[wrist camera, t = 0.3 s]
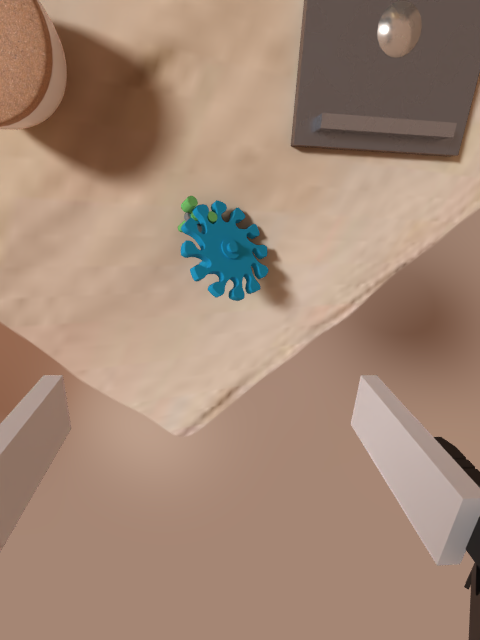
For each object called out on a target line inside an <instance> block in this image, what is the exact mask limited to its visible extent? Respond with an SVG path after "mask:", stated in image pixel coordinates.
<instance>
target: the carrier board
mask: <svg viewBox="0 0 480 640" xmlns="http://www.w3.org/2000/svg"><path fill="white" fill-rule="evenodd" d="M479 72H480V0H304V9H303V19H302V30H301V41H300V52H299V63H298V74H297V85H296V95H295V106H294V117H293V128H292V139H291V146H298V147H313V148H329V149H344V150H359V151H375V152H390V153H406V154H421V155H437V156H457V155H458V153H459V150H460V146H461V142H462V138H463V134H464V130H465V126H466V122H467V119H468V115H469V111H470V107H471V103H472V99H473V95H474V92H475V88H476V84H477V80H478V76H479Z"/></svg>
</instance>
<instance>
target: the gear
mask: <svg viewBox="0 0 480 640" xmlns="http://www.w3.org/2000/svg"><path fill="white" fill-rule="evenodd" d="M197 204H198V202H197V199H196V198H195V197H193V196H189V197H188V198H187V199H186V200H185V201H184V202H183V203H182V205H181V208H182V210H183V211H184V212H186V213H185V216H184V218H185V221H184V222H183V223H181V224H180V225H179V226H178V230H179V231H180V232H183V233H185V234H187V235H189V236H191V237H192V238H194V239H195V240H196V242H197V243H198V244H199V246H200V248H201V250H199V249H197V247H196V246H195V244H194V243H193V242H191V241H185V242H184V243H183V244H182V246H181V255H182V256H183V257H186V258H188V257H196V258H199V259H201V260H202V262H200V263H199V265H196V266H194V267H193V268H191V269H190V272H191V275H192V277H193V279H194V281H200V280H201V279H203V278H204V277H205V276H206V275H207V274H216V275H217V276H218V277H219V282H215V283H213V284H211V285H210V286H209V287H208V291H209V292H210V293H211V294H212V295H213V296H215V297H219V296H221V295H223V293H224V291H225V285H226V283H227V281H228V280H229V279H230V280H232V281H233V283H234V287H233V289H232V290H230V292H229V298H230V299H232V300H236V301H239V300H242V299H244V291H243V288H242V279H243V277H245V279H246V287H245V289H246V292H247V293H248V294H251V293H253V292H256V291H258V290H260V284H259V283H258V282H257V281H256V279H255V278H254V276H253V273H252V269H251V266H252V267H253V269H254V273H255V276H256V277H257V278H258V279H261V278H263V277H265V276H266V275H267V273H268V268H267V267H266V266H265V265H262V264H261V263H259V262H258V261H257V260H256V258H255V257H254V255H253V253H254V254H255V256H256V257H257V258H258V259H262V258H264V257H266V256H267V247H266V246H265V245H256V244H253V243H252V242H250V241H249V240H248V239H247V237H249V238H250V239H254V238H255V237H257V236H259V235H260V233H259V230H258V227H257V226H256V224H252V225H251V226H249V227H248V228H247V229H239V228H238V227H237V226H236V223H239V222H240V221H242V220H243V219H244V218H245V214H244V213H243V212H242V211H241V210H240V209H239V208H236V209H235V210H234V211H232V212H231V214H230V220H229V222H225V221H223V219H222V217H221V214H222V213H224V212H225V211H226V209H227V207H226V204H224V203H223V202H221V201H217V200H216V201H215V202H214V203H213V204H212V206H211V210H212V211H210V212H209V209H208V207H207V205H204V204H202V205H198V206H197ZM252 252H253V253H252Z"/></svg>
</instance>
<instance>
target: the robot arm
mask: <svg viewBox="0 0 480 640" xmlns="http://www.w3.org/2000/svg"><path fill="white" fill-rule="evenodd" d="M351 425H352V427H353V429H354V430H355V432H356V434H357V435H358V437H359V439H360V440H361V442H362V443H363V445H364V447H365V448H366V450H367V452H368V453H369V455H370V457H371V458H372V460H373V461H374V463H375V465H376V466H377V468H378V470H379V471H380V473H381V474H382V476H383V478H384V480H385V481H386V483H387V484H388V486H389V487H390V489H391V491H392V493H393V494H394V496H395V498H396V499H397V501H398V502H399V504H400V506H401V507H402V509H403V511H404V512H405V514H406V515H407V517H408V519H409V520H410V522H411V524H412V525H413V527H414V529H415V530H416V531H417V533H418V535H419V537H420V538H421V540H422V542H423V543H424V545H425V547H426V548H427V550H428V552H429V553H430V555H431V556H432V558H433V560H434V561H435V563H436V565H452V564H460V563H461V561H462V559H463V556H464V553H465V552H466V550H467V552H468V553H469V554H470V556H471V557H472V559H473V560H474V562H475V563H474V566H473V568H472V570H471V572H470V574H469V577H468V579H467V581H466V584H465V586H464V587H465V588H467V589H469V587H470V585H471V600H470V625H469V640H480V472H479V471H478V470H477V469H475V466H473V465H472V463H471V462H470V461H469V460H466V457H465V456H464V455H463V454H462V453H461V452H460V451H459V450H458V449H457V448H456V447H455V446H453V445H452V444H451V443H449V442H448V441H446V440H445V439H443V438H442V437H433V436H432V435H431V434H430V433H429V432H428V431H427V430H426V429H425V428H424V426H423V425H422V424H421V423H420V422H419V421H418V420H417V419H416V418H415V417H414V416H413V414H412V413H411V412H410V411H409V410H408V409H407V408H406V407H405V406H404V405H403V404H402V402H401V401H400V400H399V399H398V398H397V397H396V396H395V395H394V394H393V393H392V391H391V390H390V389H389V388H388V387H387V386H386V385H385V384H384V383H383V382H382V381H381V379H380V378H379V377H378V376H377V375H361V378H360V382H359V387H358V392H357V396H356V401H355V406H354V411H353V416H352V420H351ZM70 430H71V424H70V417H69V411H68V405H67V398H66V392H65V386H64V379H63V376H62V375H44V376H43V377H42V378H41V379H40V380H39V381H38V382H37V383H36V385H35V386H34V387H33V388H32V389H31V390H30V391H29V392H28V394H27V395H26V396H25V397H24V398H23V399H22V400H21V401H20V403H19V404H18V405H17V406H16V407H15V408H14V410H13V411H11V413H10V414H9V415H8V416H7V417H6V418H5V419H4V420H3V422H2V423H1V424H0V552H1V550H2V548H3V546H4V545H5V543H6V541H7V539H8V538H9V536H10V534H11V533H12V531H13V529H14V527H15V526H16V524H17V522H18V520H19V519H20V517H21V515H22V513H23V512H24V510H25V508H26V506H27V505H28V503H29V501H30V500H31V498H32V496H33V494H34V493H35V491H36V489H37V487H38V486H39V484H40V482H41V480H42V479H43V477H44V475H45V473H46V472H47V470H48V468H49V466H50V465H51V463H52V461H53V460H54V458H55V456H56V454H57V453H58V451H59V449H60V447H61V446H62V444H63V442H64V441H65V439H66V437H67V435H68V434H69V432H70Z"/></svg>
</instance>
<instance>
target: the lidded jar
mask: <svg viewBox="0 0 480 640" xmlns="http://www.w3.org/2000/svg"><path fill="white" fill-rule="evenodd" d="M66 80H67V66H66V59H65V54H64V50H63V47H62V44H61V41H60V38H59V36H58V34H57V31H56V29H55V27H54V24H53V23H52V21H51V19H50V18H49V16H48V14H47V12H46V11H45V9H44V7H43V6H42V4H41V3H40V2H39V0H0V129H10V130H18V129H24V128H29V127H32V126H35V125H38V124H40V123H42V122H43V121H45V120H47V119H48V118H49V117H50V116H51V115H52V114H53V113H54V112H55V110H56V109H57V108H58V106H59V105H60V103H61V100H62V98H63V95H64V92H65V88H66Z"/></svg>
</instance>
